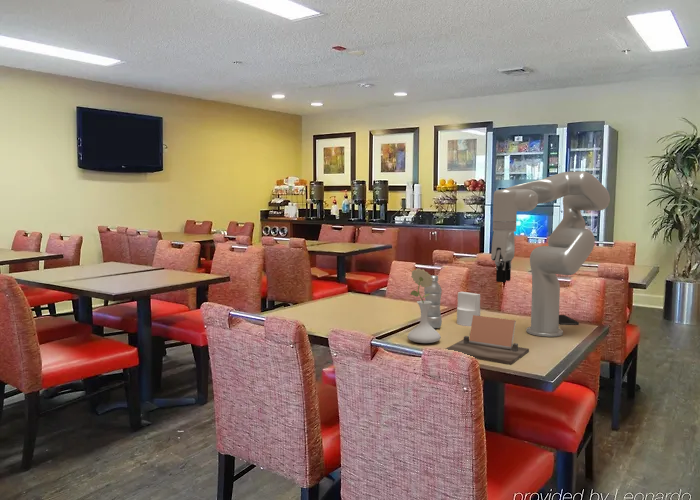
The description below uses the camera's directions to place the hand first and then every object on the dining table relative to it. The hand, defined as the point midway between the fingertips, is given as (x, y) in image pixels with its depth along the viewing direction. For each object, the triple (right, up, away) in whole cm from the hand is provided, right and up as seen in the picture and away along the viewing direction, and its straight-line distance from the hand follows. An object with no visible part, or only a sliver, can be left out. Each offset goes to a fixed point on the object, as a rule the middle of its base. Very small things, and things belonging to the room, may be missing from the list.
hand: (503, 280), depth 187 cm
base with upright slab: (-5, -19, +31) cm, 37 cm away
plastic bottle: (-20, -19, +23) cm, 37 cm away
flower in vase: (-27, -21, +5) cm, 34 cm away
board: (-8, -22, -10) cm, 26 cm away
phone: (+34, -19, +36) cm, 52 cm away
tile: (-5, -16, -6) cm, 18 cm away
